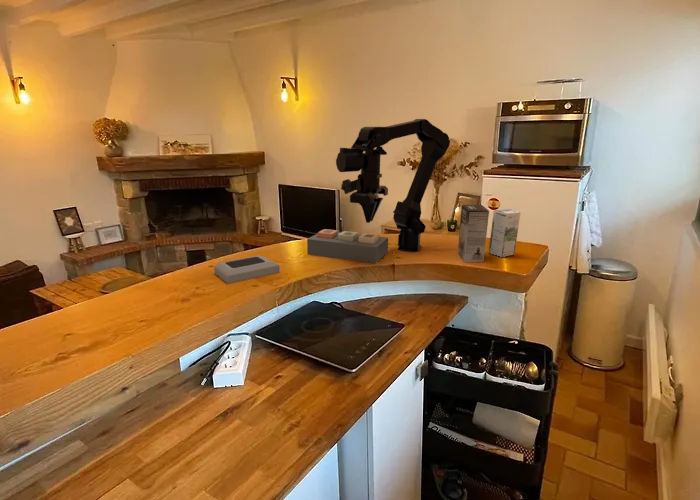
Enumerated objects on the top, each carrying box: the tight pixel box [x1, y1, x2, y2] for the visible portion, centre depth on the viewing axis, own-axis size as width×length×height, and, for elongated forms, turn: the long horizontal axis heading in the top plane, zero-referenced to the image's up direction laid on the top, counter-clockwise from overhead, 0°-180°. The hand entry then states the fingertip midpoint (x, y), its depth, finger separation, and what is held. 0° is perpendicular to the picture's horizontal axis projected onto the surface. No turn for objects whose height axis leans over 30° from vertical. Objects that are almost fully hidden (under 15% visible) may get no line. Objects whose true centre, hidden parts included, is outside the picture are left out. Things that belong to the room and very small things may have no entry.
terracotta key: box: [317, 228, 339, 239], centre depth 136 cm, size 5×5×3 cm
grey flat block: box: [213, 255, 281, 285], centre depth 116 cm, size 10×4×15 cm
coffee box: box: [457, 204, 490, 263], centre depth 129 cm, size 9×6×16 cm
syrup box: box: [488, 208, 521, 258], centre depth 133 cm, size 6×6×14 cm
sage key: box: [338, 230, 359, 242], centre depth 133 cm, size 5×5×3 cm
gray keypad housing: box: [306, 231, 389, 264], centre depth 134 cm, size 23×12×5 cm, turn 69°
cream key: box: [359, 232, 380, 244], centre depth 131 cm, size 5×5×3 cm
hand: (369, 221), depth 129 cm, fingers closed
